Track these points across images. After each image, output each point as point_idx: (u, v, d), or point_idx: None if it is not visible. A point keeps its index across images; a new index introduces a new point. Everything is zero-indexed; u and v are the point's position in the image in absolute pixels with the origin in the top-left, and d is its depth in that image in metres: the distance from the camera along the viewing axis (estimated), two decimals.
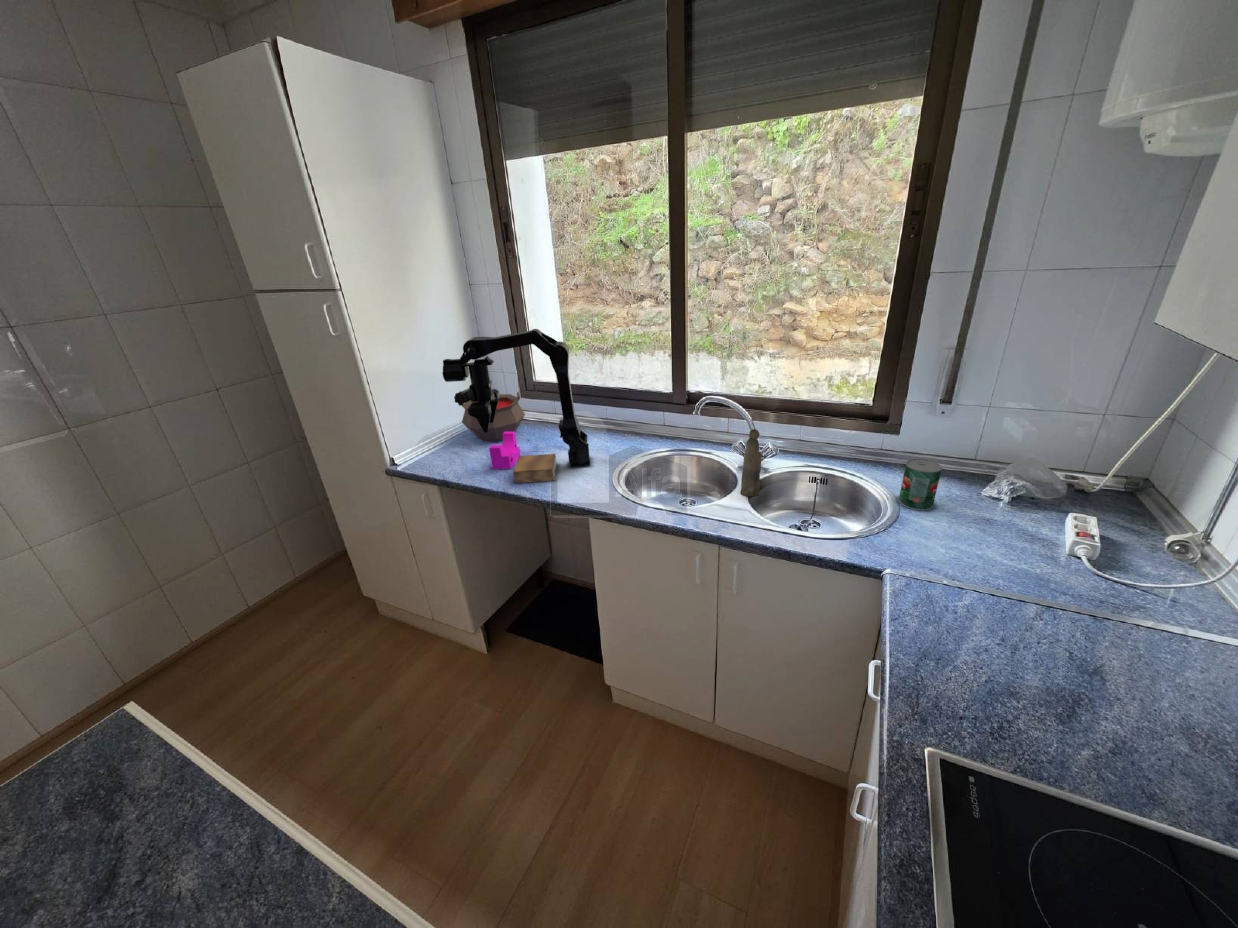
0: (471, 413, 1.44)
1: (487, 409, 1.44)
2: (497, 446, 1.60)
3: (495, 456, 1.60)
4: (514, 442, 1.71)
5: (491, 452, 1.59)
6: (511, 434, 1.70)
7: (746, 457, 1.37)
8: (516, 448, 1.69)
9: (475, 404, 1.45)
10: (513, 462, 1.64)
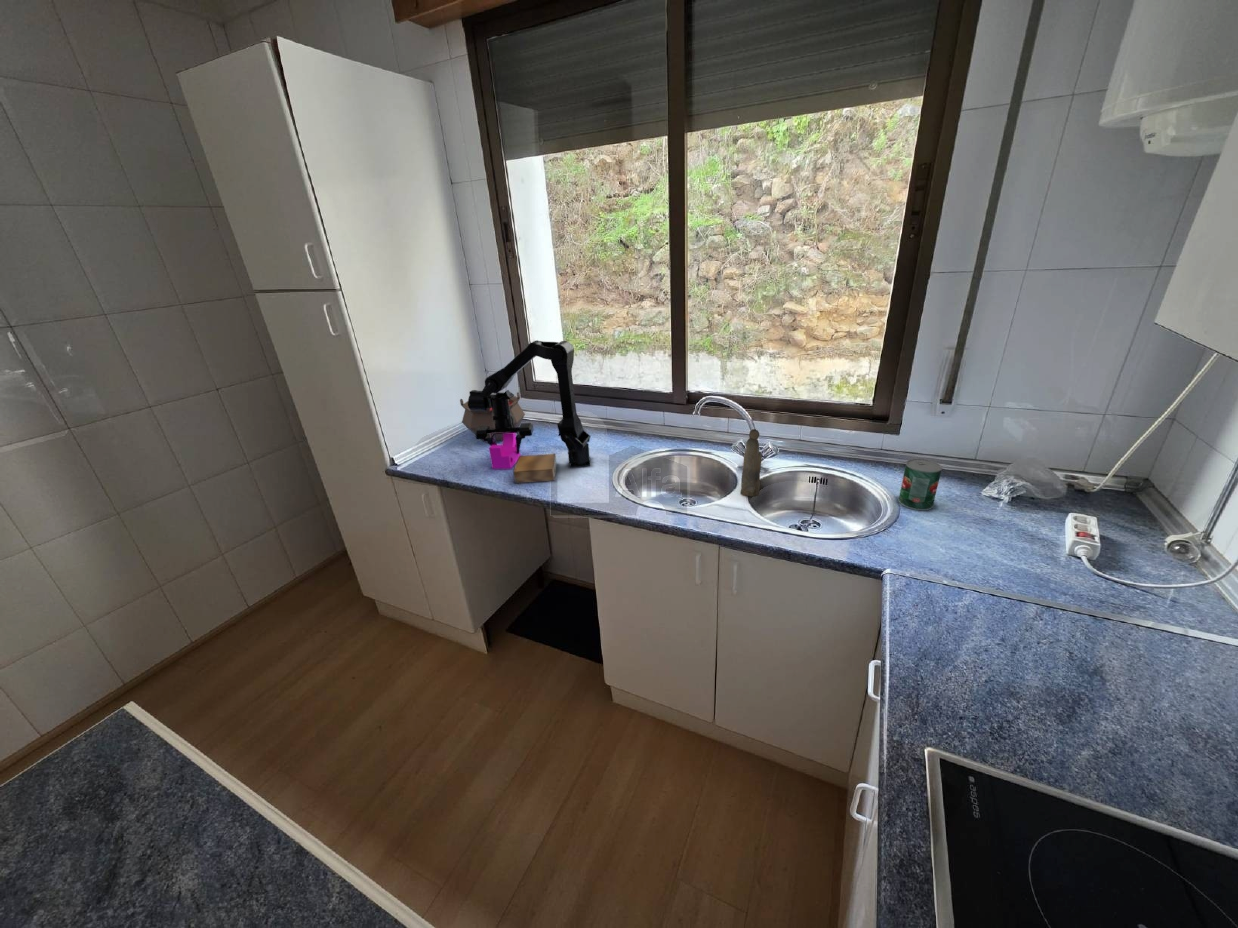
0: None
1: (475, 435, 1.61)
2: (497, 446, 1.60)
3: (495, 456, 1.60)
4: (514, 442, 1.71)
5: (491, 452, 1.59)
6: (511, 434, 1.70)
7: (746, 457, 1.37)
8: (516, 448, 1.69)
9: (481, 427, 1.64)
10: (513, 462, 1.64)
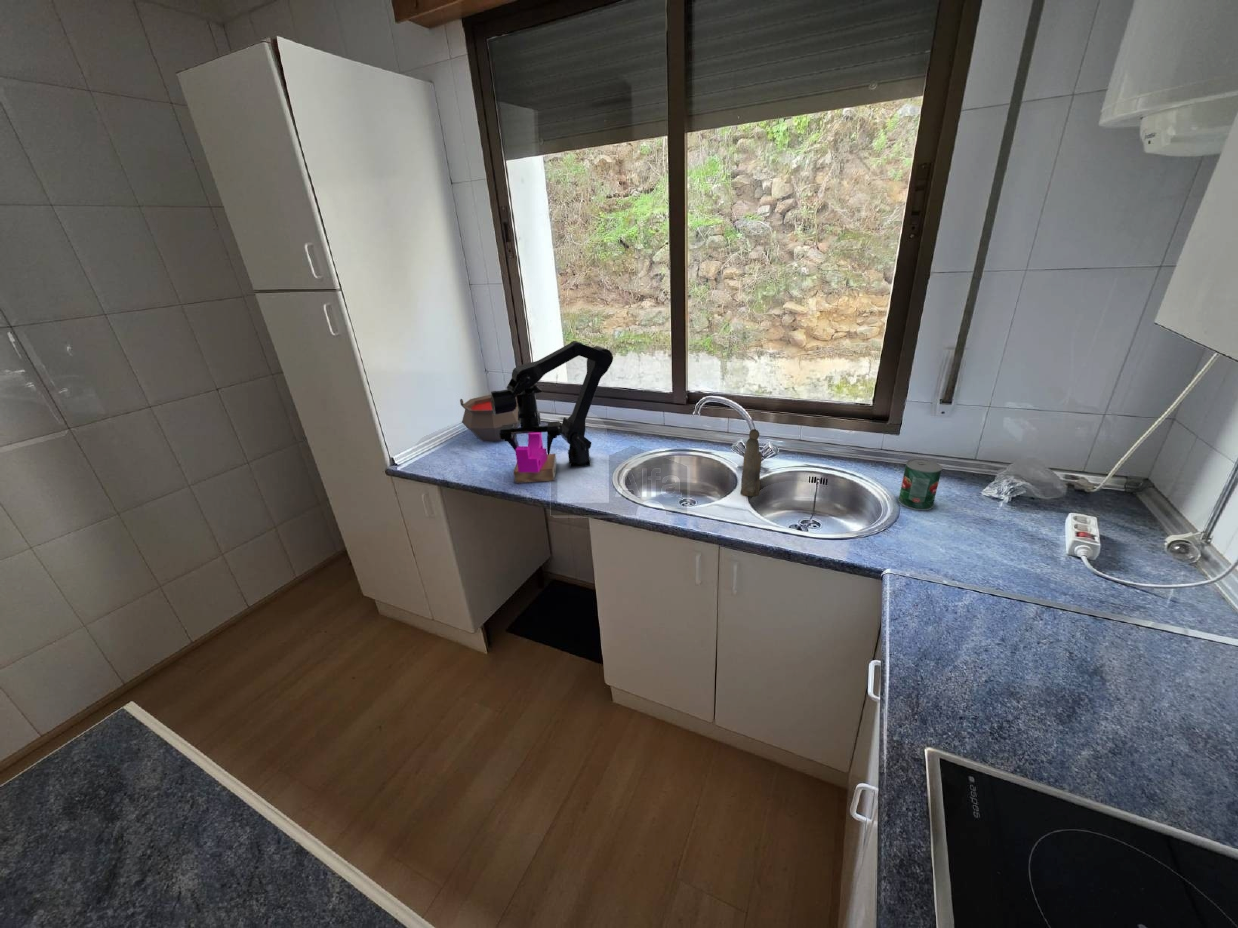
0: None
1: (499, 434, 1.48)
2: (524, 448, 1.46)
3: (522, 458, 1.46)
4: (540, 443, 1.58)
5: (517, 454, 1.46)
6: (537, 435, 1.57)
7: (746, 457, 1.37)
8: (543, 449, 1.55)
9: (505, 426, 1.50)
10: (541, 465, 1.50)
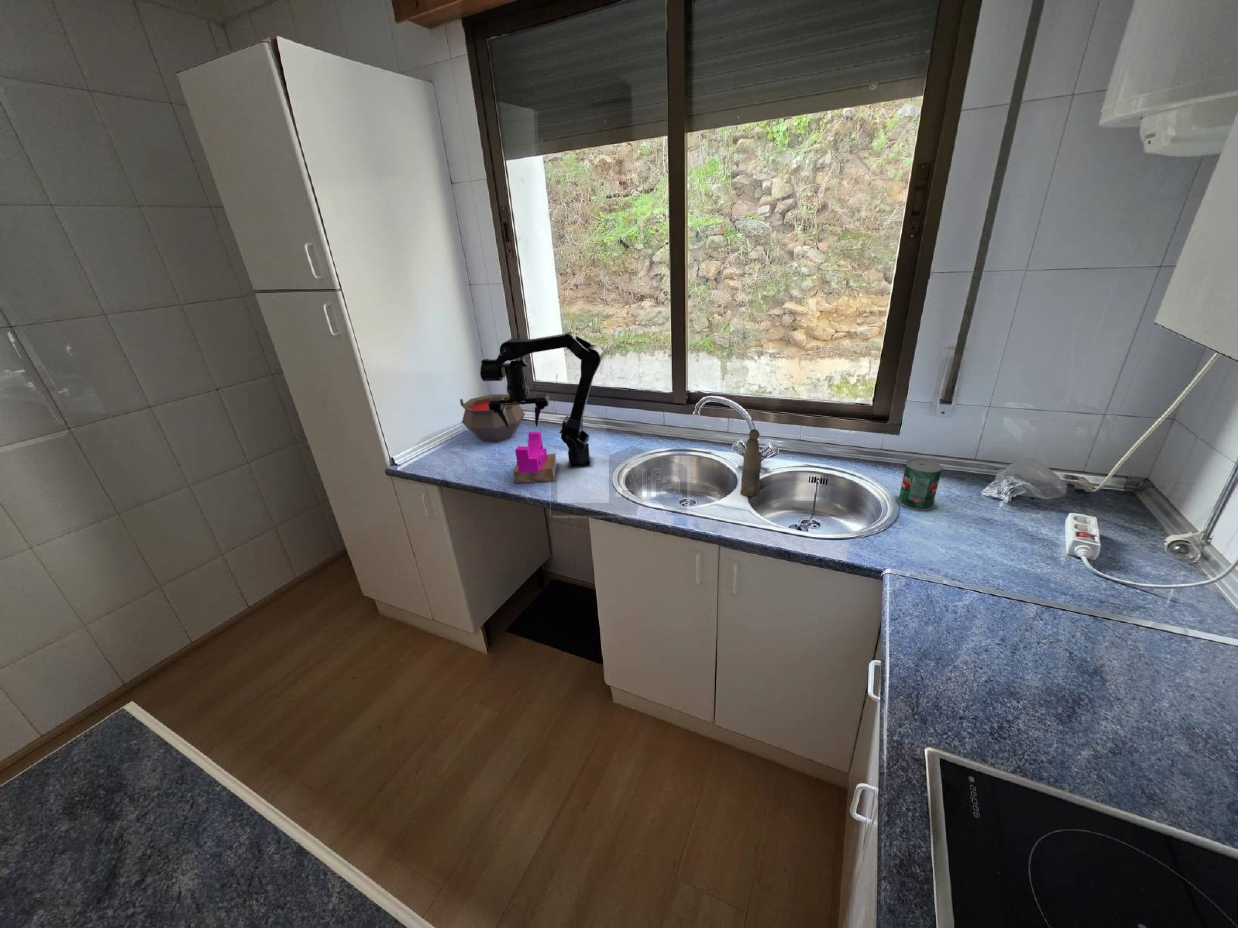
0: None
1: (489, 405, 1.53)
2: (524, 448, 1.46)
3: (522, 458, 1.46)
4: (540, 443, 1.58)
5: (517, 454, 1.46)
6: (537, 435, 1.57)
7: (746, 457, 1.37)
8: (543, 449, 1.55)
9: (495, 398, 1.56)
10: (541, 465, 1.50)
